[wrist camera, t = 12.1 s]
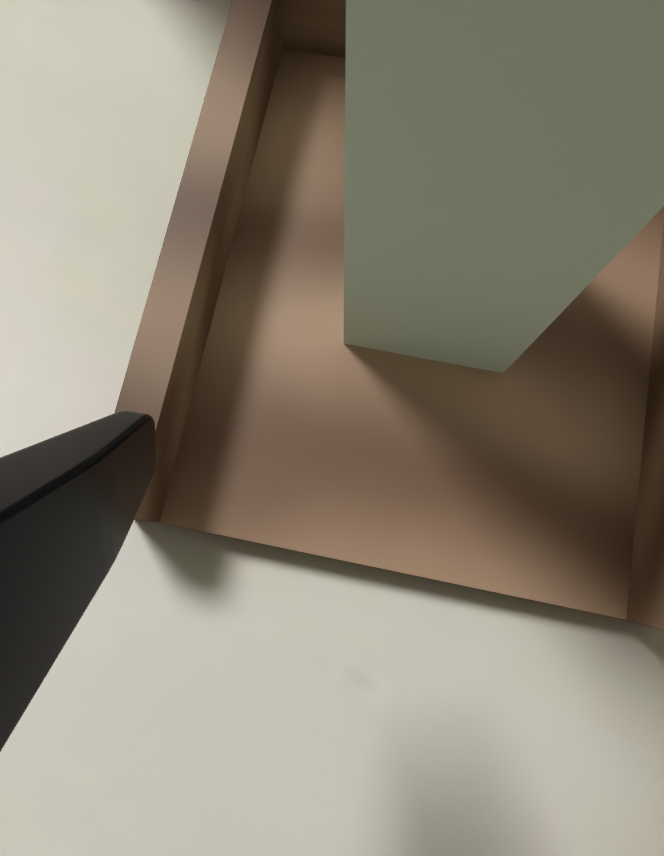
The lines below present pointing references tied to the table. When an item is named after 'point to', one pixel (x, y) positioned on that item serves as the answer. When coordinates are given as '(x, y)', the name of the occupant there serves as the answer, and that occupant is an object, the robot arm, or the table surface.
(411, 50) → the sage box
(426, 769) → the table surface
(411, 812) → the table surface
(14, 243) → the table surface
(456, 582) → the wooden serving tray
